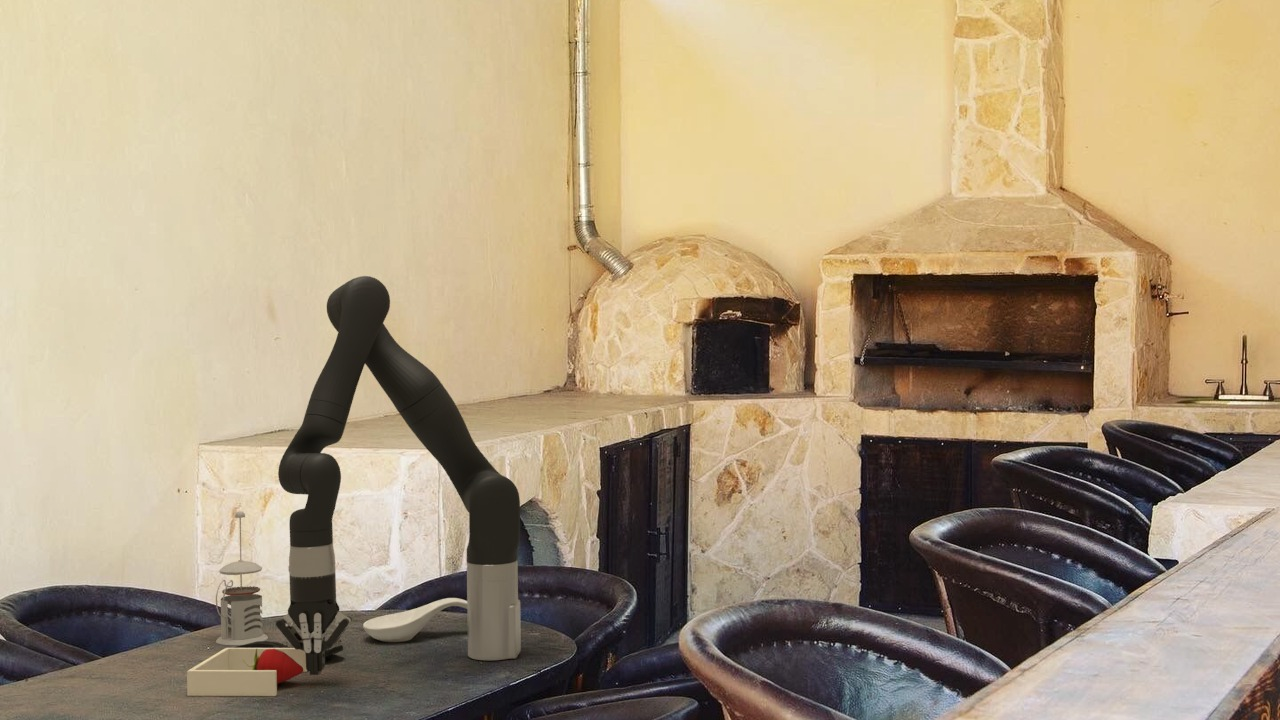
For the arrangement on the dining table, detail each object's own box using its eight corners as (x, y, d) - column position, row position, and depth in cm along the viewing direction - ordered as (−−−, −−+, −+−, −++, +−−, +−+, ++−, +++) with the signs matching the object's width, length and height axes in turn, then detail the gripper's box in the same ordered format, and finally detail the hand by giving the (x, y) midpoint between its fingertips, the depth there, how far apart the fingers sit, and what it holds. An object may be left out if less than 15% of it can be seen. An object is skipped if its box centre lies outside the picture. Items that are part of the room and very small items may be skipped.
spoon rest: (365, 648, 245) (365, 610, 245) (360, 635, 257) (360, 599, 257) (490, 639, 252) (489, 602, 252) (479, 627, 264) (479, 591, 263)
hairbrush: (250, 631, 249) (353, 636, 238) (251, 651, 249) (354, 656, 238) (218, 641, 242) (322, 646, 230) (219, 660, 242) (323, 667, 230)
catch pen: (307, 670, 228) (307, 647, 228) (275, 696, 211) (274, 671, 211) (226, 670, 229) (226, 647, 229) (187, 695, 212) (187, 671, 212)
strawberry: (308, 648, 223) (248, 643, 221) (303, 654, 215) (241, 649, 214) (303, 683, 222) (243, 678, 221) (298, 690, 215) (236, 685, 213)
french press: (278, 635, 257) (276, 509, 256) (242, 648, 246) (240, 516, 246) (236, 632, 260) (234, 507, 260) (198, 645, 249) (196, 514, 249)
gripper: (357, 566, 222) (360, 667, 223) (281, 567, 223) (284, 668, 223) (344, 574, 215) (348, 679, 215) (266, 575, 216) (269, 680, 216)
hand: (315, 673), depth 219 cm, fingers closed
